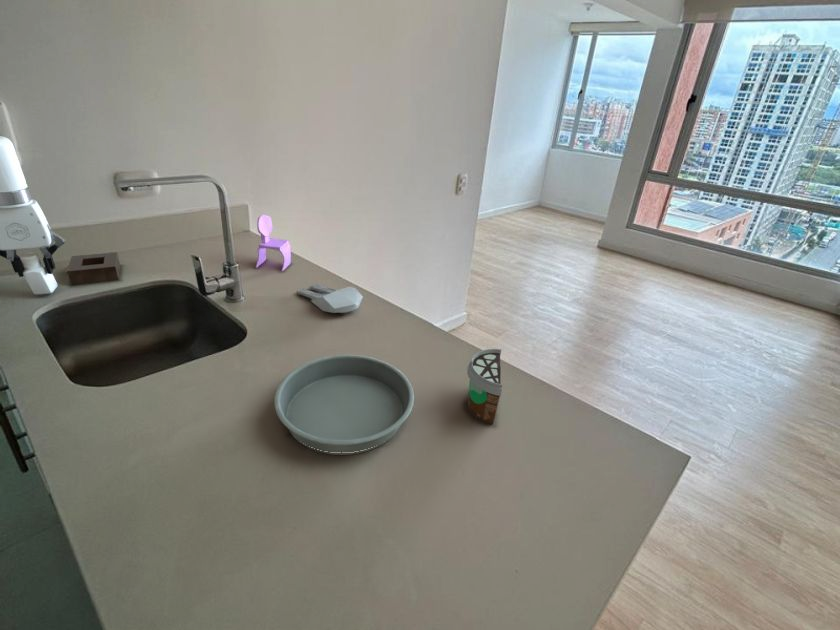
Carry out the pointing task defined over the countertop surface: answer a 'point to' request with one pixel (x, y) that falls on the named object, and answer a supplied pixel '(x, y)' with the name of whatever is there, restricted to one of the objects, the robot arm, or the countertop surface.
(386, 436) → the cake pan
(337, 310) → the turret
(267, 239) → the toy chair
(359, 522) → the countertop surface
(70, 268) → the holder
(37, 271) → the pepper shaker
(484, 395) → the food container
